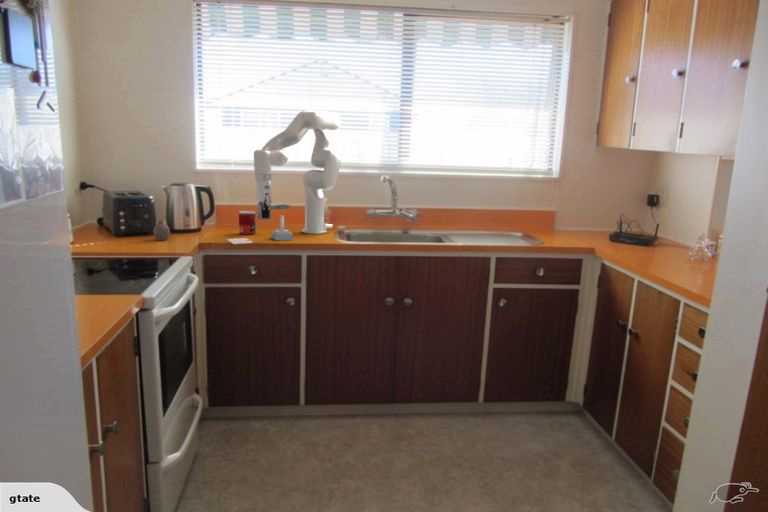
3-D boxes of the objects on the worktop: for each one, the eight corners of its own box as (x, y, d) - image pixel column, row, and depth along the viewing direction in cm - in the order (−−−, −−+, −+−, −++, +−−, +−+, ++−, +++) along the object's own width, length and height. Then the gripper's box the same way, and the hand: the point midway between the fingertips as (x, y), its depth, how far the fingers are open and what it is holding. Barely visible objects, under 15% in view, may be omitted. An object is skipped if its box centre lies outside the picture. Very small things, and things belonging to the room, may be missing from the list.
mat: (246, 238, 259) (246, 238, 259) (253, 243, 250) (253, 242, 250) (227, 240, 255) (227, 239, 254) (233, 244, 245) (233, 243, 245)
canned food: (253, 235, 269) (253, 213, 267) (237, 234, 269) (236, 212, 267) (257, 232, 276) (257, 211, 274) (241, 232, 276) (241, 210, 274)
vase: (150, 240, 249) (149, 220, 247) (162, 238, 255) (161, 219, 253) (161, 241, 246) (160, 222, 244) (173, 239, 252) (172, 220, 250)
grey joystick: (287, 237, 267) (287, 214, 265) (292, 239, 261) (292, 216, 259) (271, 238, 263) (271, 215, 261) (276, 240, 257) (276, 217, 255)
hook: (260, 219, 253) (260, 204, 251) (257, 218, 257) (256, 203, 255) (289, 217, 260) (289, 203, 258) (286, 216, 264) (285, 201, 262)
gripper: (277, 178, 247) (278, 219, 251) (265, 175, 261) (266, 214, 265) (260, 179, 243) (262, 220, 247) (249, 176, 257) (251, 215, 261)
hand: (264, 216), depth 256 cm, fingers closed on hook, 4 cm apart
